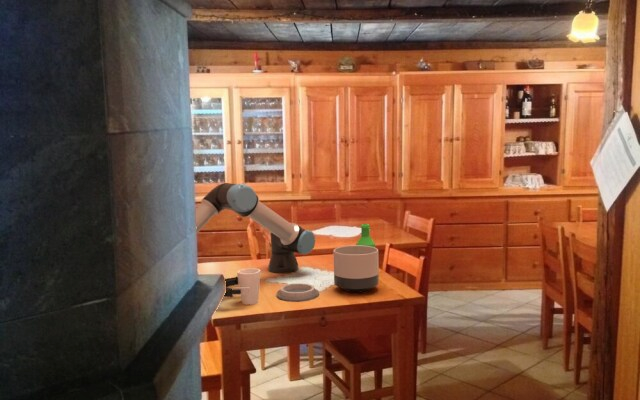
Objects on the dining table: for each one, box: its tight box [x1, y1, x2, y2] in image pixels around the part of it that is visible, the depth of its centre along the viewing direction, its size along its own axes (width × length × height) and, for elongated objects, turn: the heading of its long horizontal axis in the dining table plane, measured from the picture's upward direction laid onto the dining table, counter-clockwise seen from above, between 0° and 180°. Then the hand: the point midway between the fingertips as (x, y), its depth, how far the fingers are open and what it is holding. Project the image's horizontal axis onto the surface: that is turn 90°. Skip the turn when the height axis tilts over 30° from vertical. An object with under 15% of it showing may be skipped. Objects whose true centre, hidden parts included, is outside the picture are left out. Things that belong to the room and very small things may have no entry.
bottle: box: [355, 223, 376, 248], centre depth 254 cm, size 9×9×25 cm
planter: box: [332, 244, 380, 293], centre depth 233 cm, size 19×19×18 cm
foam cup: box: [236, 267, 262, 305], centre depth 219 cm, size 10×9×13 cm
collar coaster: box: [276, 282, 320, 302], centre depth 228 cm, size 18×18×3 cm
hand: (251, 286), depth 219 cm, fingers open, 13 cm apart
